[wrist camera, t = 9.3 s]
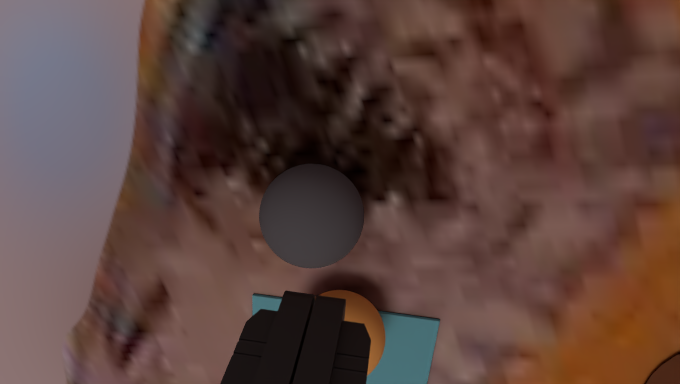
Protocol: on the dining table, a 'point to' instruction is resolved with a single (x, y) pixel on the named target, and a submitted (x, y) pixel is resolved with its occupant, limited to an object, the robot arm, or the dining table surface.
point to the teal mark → (391, 345)
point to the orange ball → (364, 321)
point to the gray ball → (311, 215)
